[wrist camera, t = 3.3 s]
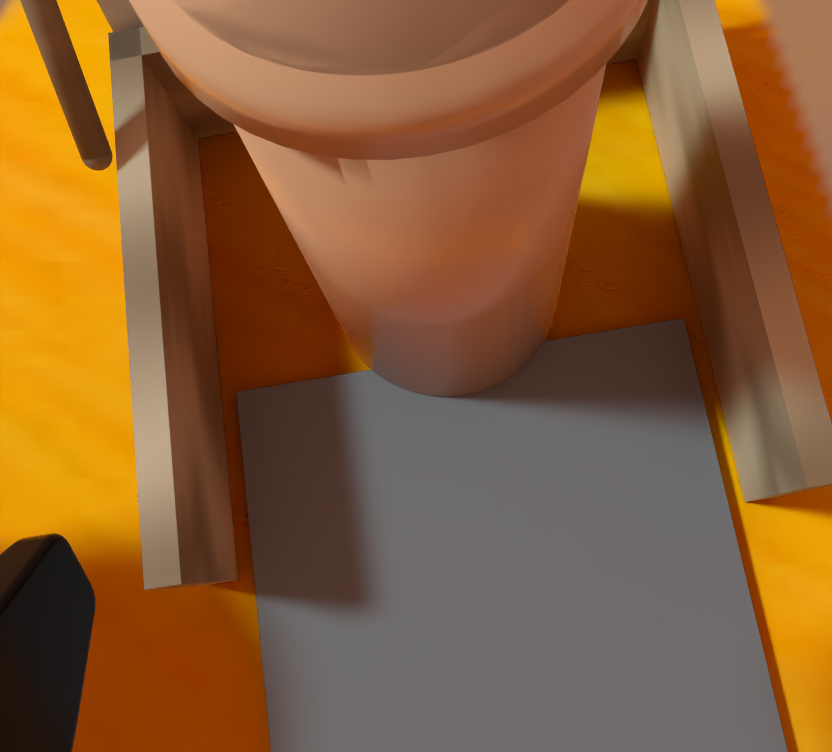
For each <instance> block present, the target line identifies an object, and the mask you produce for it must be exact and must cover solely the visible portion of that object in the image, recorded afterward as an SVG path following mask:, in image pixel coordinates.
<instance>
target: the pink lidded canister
mask: <svg viewBox="0 0 832 752" xmlns="http://www.w3.org/2000/svg"><path fill="white" fill-rule="evenodd" d="M129 1H130V3H131V5H132V7H133V8H134V10H135V12H136V13H137V15H138V17H139V18H140V20H141V22H142V23H143V25H144V27H145V28H146V30H147V32H148V34H149V35H150V37H151V39H152V40H153V42H154V44H155V45H156V47H157V49H158V50H159V52H160V54H161V55H162V57H163V58H164V59H165V61H166V62H167V64H168V65H169V67H170V68H171V70H172V71H173V72H174V74H175V75H176V77H177V78H178V79H179V80H180V81H181V82H182V83H183V84H184V85H185V86H186V87H187V88H188V89H189V90H190V91H191V92H192V94H193V95H194V96H195V97H196V98H197V99H199V100H200V101H201V102H203V103H204V104H205V105H206V106H208V107H209V108H210V109H212V110H213V111H214V112H215V113H217V114H218V115H219V116H221V117H222V118H224V119H226V120H227V121H229V122H231V123H233V124H234V126H235V128H236V130H237V132H238V133H239V135H240V137H241V139H242V141H243V143H244V145H245V147H246V149H247V150H248V152H249V154H250V156H251V158H252V160H253V162H254V164H255V166H256V167H257V169H258V171H259V173H260V175H261V177H262V179H263V181H264V183H265V184H266V186H267V188H268V190H269V192H270V194H271V196H272V198H273V200H274V202H275V203H276V205H277V207H278V209H279V211H280V213H281V215H282V217H283V219H284V220H285V222H286V224H287V226H288V228H289V230H290V232H291V234H292V236H293V237H294V239H295V241H296V243H297V245H298V247H299V249H300V251H301V253H302V254H303V256H304V258H305V260H306V262H307V264H308V266H309V268H310V270H311V271H312V273H313V275H314V277H315V279H316V281H317V283H318V285H319V287H320V289H321V290H322V292H323V294H324V296H325V298H326V300H327V302H328V304H329V306H330V307H331V309H332V311H333V313H334V315H335V317H336V319H337V321H338V323H339V324H340V326H341V328H342V330H343V332H344V334H345V336H346V338H347V340H348V341H349V343H350V345H351V347H352V348H353V350H354V351H355V353H356V354H357V355H358V357H359V358H360V359H361V360H362V361H363V362H364V363H365V364H366V366H367V367H369V368H370V369H371V370H372V371H373V372H375V373H376V374H377V375H378V376H380V377H381V378H383V379H385V380H386V381H388V382H389V383H391V384H393V385H396V386H398V387H400V388H402V389H405V390H408V391H411V392H414V393H418V394H424V395H430V396H446V397H448V396H459V395H466V394H470V393H475V392H479V391H481V390H484V389H487V388H490V387H492V386H494V385H496V384H498V383H500V382H502V381H504V380H506V379H507V378H509V377H510V376H512V375H513V374H515V373H516V372H517V371H519V370H520V369H521V368H522V367H523V366H524V365H525V364H526V363H528V362H529V360H530V359H531V358H532V357H533V356H534V355H535V353H536V352H537V351H538V350H539V348H540V346H541V345H542V343H543V342H544V340H545V339H546V336H547V334H548V332H549V330H550V328H551V325H552V322H553V319H554V316H555V312H556V307H557V302H558V298H559V293H560V288H561V283H562V278H563V273H564V268H565V263H566V259H567V254H568V249H569V244H570V239H571V234H572V229H573V224H574V219H575V215H576V210H577V205H578V200H579V195H580V190H581V185H582V180H583V176H584V171H585V166H586V161H587V156H588V151H589V146H590V141H591V136H592V132H593V127H594V122H595V117H596V112H597V107H598V102H599V97H600V93H601V88H602V83H603V78H604V73H605V68H606V63H607V62H608V61H609V60H610V58H611V57H612V56H613V55H614V54H615V53H616V52H617V51H618V50H619V48H620V47H621V45H622V44H623V43H624V41H625V40H626V38H627V37H628V35H629V34H630V32H631V31H632V30H633V28H634V27H635V25H636V24H637V22H638V20H639V18H640V16H641V14H642V12H643V10H644V8H645V6H646V4H647V2H648V0H129Z"/></svg>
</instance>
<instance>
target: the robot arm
mask: <svg viewBox="0 0 832 752" xmlns="http://www.w3.org/2000/svg"><path fill="white" fill-rule="evenodd" d="M94 613H95V596H94V592H93V588H92V586H91V583H90V582H89V580H88V578H87V576H86V574H85V572H84V570H83V569H82V567H81V565H80V563H79V561H78V559H77V557H76V556H75V554H74V552H73V550H72V548H71V546H70V544H69V543H68V541H67V540H66V539H65V538H64V537H63V536H61V535H59V534H47V535H40V536H34V537H27V538H23V539H20V540H18V541H17V542H15V543H14V544H13V545H11V546H10V547H9V548H8V549H6V550H5V551H4V552H3V553H2V554H0V752H71V751H72V747H73V742H74V737H75V732H76V726H77V721H78V714H79V708H80V702H81V695H82V689H83V683H84V676H85V670H86V664H87V658H88V651H89V645H90V639H91V632H92V626H93V620H94Z"/></svg>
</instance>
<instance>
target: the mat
mask: <svg viewBox="0 0 832 752" xmlns="http://www.w3.org/2000/svg"><path fill="white" fill-rule="evenodd" d="M236 394H237V405H238V415H239V425H240V436H241V446H242V457H243V467H244V477H245V488H246V498H247V508H248V519H249V529H250V539H251V550H252V560H253V571H254V581H255V591H256V602H257V612H258V622H259V633H260V643H261V653H262V664H263V674H264V685H265V695H266V705H267V716H268V726H269V736H270V747H271V752H788V750H787V746H786V742H785V738H784V734H783V730H782V725H781V721H780V717H779V713H778V709H777V705H776V700H775V696H774V692H773V688H772V684H771V680H770V675H769V671H768V667H767V663H766V659H765V655H764V650H763V646H762V642H761V638H760V634H759V630H758V625H757V621H756V617H755V613H754V609H753V604H752V600H751V596H750V592H749V588H748V584H747V579H746V575H745V571H744V567H743V563H742V559H741V554H740V550H739V546H738V542H737V538H736V534H735V529H734V525H733V521H732V517H731V513H730V509H729V504H728V500H727V496H726V492H725V488H724V484H723V479H722V475H721V471H720V467H719V463H718V458H717V454H716V450H715V446H714V442H713V438H712V433H711V429H710V425H709V421H708V417H707V413H706V408H705V404H704V400H703V396H702V392H701V388H700V383H699V379H698V375H697V371H696V367H695V363H694V358H693V354H692V350H691V346H690V342H689V338H688V333H687V329H686V325H685V321H684V318H681V319H675V320H669V321H663V322H657V323H651V324H645V325H639V326H633V327H626V328H620V329H614V330H608V331H602V332H596V333H590V334H584V335H578V336H572V337H566V338H560V339H554V340H548V341H544V342H543V343H542V345H541V346H540V348H539V350H538V351H537V352H536V353H535V355H534V356H533V357H532V358H531V359H530V360H529V362H528V363H526V364H525V365H524V366H523V367H522V368H521V369H520V370H519V371H517V372H516V373H515V374H513V375H512V376H510V377H509V378H507V379H506V380H504V381H502V382H500V383H498V384H496V385H494V386H492V387H490V388H487V389H484V390H481V391H479V392H475V393H470V394H466V395H459V396H448V397H446V396H430V395H424V394H418V393H414V392H411V391H408V390H405V389H402V388H400V387H398V386H396V385H393V384H391V383H389V382H388V381H386V380H385V379H383V378H381V377H380V376H378V375H377V374H376V373H375V372H373V371H372V370H366V371H360V372H354V373H348V374H342V375H336V376H330V377H324V378H318V379H312V380H306V381H300V382H293V383H287V384H281V385H275V386H269V387H263V388H257V389H251V390H245V391H239V392H236Z"/></svg>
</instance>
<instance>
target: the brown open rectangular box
mask: <svg viewBox="0 0 832 752" xmlns="http://www.w3.org/2000/svg"><path fill="white" fill-rule="evenodd" d="M20 1H21V3H22V6H23V9H24V11H25V14H26V16H27V19H28V21H29V24H30V27H31V29H32V32H33V34H34V37H35V40H36V42H37V45H38V47H39V50H40V52H41V55H42V58H43V60H44V63H45V65H46V68H47V71H48V73H49V76H50V78H51V81H52V83H53V86H54V89H55V91H56V94H57V96H58V99H59V102H60V104H61V107H62V109H63V112H64V114H65V117H66V120H67V122H68V125H69V127H70V130H71V132H72V135H73V138H74V140H75V143H76V145H77V148H78V151H79V153H80V156H81V158H82V161H83V162H84V164H85V165H86V166H87V167H89V168H90V169H93V170H104V169H106V168H107V167H108V166H109V165H110V164H111V162H112V151H111V149H110V146H109V143H108V140H107V138H106V135H105V132H104V130H103V127H102V124H101V121H100V119H99V116H98V113H97V110H96V108H95V105H94V102H93V99H92V97H91V94H90V91H89V89H88V86H87V83H86V80H85V78H84V75H83V72H82V69H81V67H80V64H79V61H78V58H77V56H76V53H75V50H74V48H73V45H72V42H71V39H70V37H69V34H68V31H67V28H66V26H65V23H64V20H63V17H62V15H61V12H60V9H59V7H58V4H57V1H56V0H20ZM97 2H98V4H99V5H100V7H101V9H102V11H103V13H104V15H105V17H106V19H107V21H108V22H109V24H110V26H111V28H112V30H113V32H112V33H108V35H109V51H110V67H111V82H112V98H113V113H114V129H115V145H116V160H117V176H118V191H119V207H120V222H121V238H122V254H123V269H124V285H125V300H126V316H127V331H128V347H129V363H130V378H131V394H132V409H133V425H134V441H135V456H136V472H137V487H138V503H139V518H140V534H141V550H142V565H143V581H144V590H148V589H161V588H173V587H186V586H198V585H209V584H216V583H222V582H229V581H235V580H238V571H237V560H236V549H235V538H234V527H233V516H232V505H231V494H230V483H229V473H228V462H227V451H226V440H225V429H224V418H223V407H222V396H221V385H220V375H219V364H218V353H217V342H216V331H215V320H214V309H213V298H212V287H211V276H210V266H209V255H208V244H207V233H206V222H205V211H204V200H203V189H202V178H201V168H200V157H199V146H198V138H204V137H209V136H215V135H220V134H226V133H231V132H237V130H236V128H235V126H234V124H233V123H231V122H229V121H227V120H226V119H224V118H222V117H221V116H219V115H218V114H217V113H215V112H214V111H213V110H212V109H210V108H209V107H208V106H206V105H205V104H204V103H203V102H201V101H200V100H199V99H197V98H196V97H195V96H194V95H193V94H192V92H191V91H190V90H189V89H188V88H187V87H186V86H185V85H184V84H183V83H182V82H181V81H180V80H179V79H178V78H177V77H176V75H175V74H174V72H173V71H172V70H171V68H170V67H169V65H168V64H167V62H166V61H165V59H164V58H163V57H162V55H161V54H160V52H159V50H158V49H157V47H156V45H155V44H154V42H153V40H152V39H151V37H150V35H149V34H148V32H147V30H146V28H145V27H144V25H143V23H142V22H141V20H140V18H139V17H138V15H137V13H136V12H135V10H134V8H133V7H132V5H131V3H130V1H129V0H97ZM635 59H637V64H638V68H639V72H640V76H641V80H642V84H643V88H644V92H645V96H646V100H647V104H648V108H649V113H650V117H651V121H652V125H653V129H654V133H655V137H656V141H657V145H658V149H659V153H660V157H661V162H662V166H663V170H664V174H665V178H666V182H667V186H668V190H669V194H670V198H671V202H672V206H673V211H674V215H675V219H676V223H677V227H678V231H679V235H680V239H681V243H682V247H683V251H684V256H685V260H686V264H687V268H688V272H689V276H690V280H691V284H692V288H693V292H694V296H695V300H696V305H697V309H698V313H699V317H700V321H701V325H702V329H703V333H704V337H705V341H706V345H707V349H708V354H709V358H710V362H711V366H712V370H713V374H714V378H715V382H716V386H717V390H718V394H719V398H720V403H721V407H722V411H723V415H724V419H725V423H726V427H727V431H728V435H729V439H730V443H731V448H732V452H733V456H734V460H735V464H736V468H737V472H738V476H739V480H740V484H741V488H742V492H743V497H744V501H745V502H749V501H756V500H762V499H769V498H775V497H780V496H785V495H789V494H794V493H798V492H803V491H807V490H812V489H816V488H820V487H825V486H829V485H832V423H831V419H830V416H829V412H828V408H827V405H826V401H825V398H824V394H823V390H822V387H821V383H820V380H819V376H818V372H817V369H816V365H815V362H814V358H813V354H812V351H811V347H810V343H809V340H808V336H807V333H806V329H805V325H804V322H803V318H802V315H801V311H800V307H799V304H798V300H797V297H796V293H795V289H794V286H793V282H792V279H791V275H790V271H789V268H788V264H787V260H786V257H785V253H784V250H783V246H782V242H781V239H780V235H779V232H778V228H777V224H776V221H775V217H774V214H773V210H772V206H771V203H770V199H769V196H768V192H767V188H766V185H765V181H764V177H763V174H762V170H761V167H760V163H759V159H758V156H757V152H756V149H755V145H754V141H753V138H752V134H751V131H750V127H749V123H748V120H747V116H746V113H745V109H744V105H743V102H742V98H741V94H740V91H739V87H738V84H737V80H736V76H735V73H734V69H733V66H732V62H731V58H730V55H729V51H728V48H727V44H726V40H725V37H724V33H723V30H722V26H721V22H720V19H719V15H718V11H717V8H716V4H715V1H714V0H648V2H647V4H646V6H645V8H644V10H643V12H642V14H641V16H640V18H639V20H638V22H637V24H636V25H635V27H634V28H633V30H632V31H631V32H630V34H629V35H628V37H627V38H626V40H625V41H624V43H623V44H622V45H621V47H620V48H619V50H618V51H617V52H616V53H615V54H614V55H613V56H612V57H611V58H610V60H609V61H608V62H607V63H606V65H607V64H613V63H618V62H624V61H629V60H635Z"/></svg>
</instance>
